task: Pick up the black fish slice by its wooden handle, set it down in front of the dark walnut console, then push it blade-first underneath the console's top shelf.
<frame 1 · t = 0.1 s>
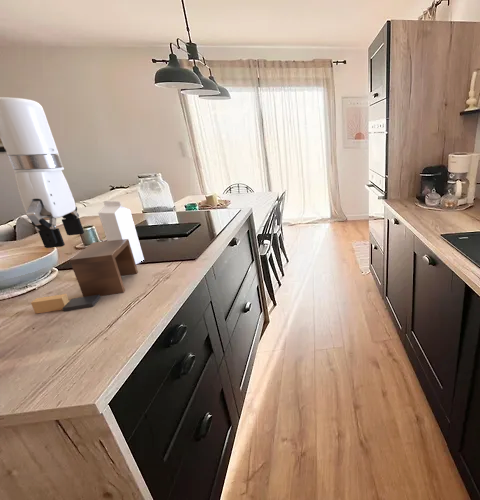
hand: (66, 240, 67), 19 cm above the counter, tool pointing down, fingers open, 9 cm apart
console: (113, 284, 86), on the counter
fish slice: (68, 306, 74), on the counter
milk: (130, 263, 101), on the counter
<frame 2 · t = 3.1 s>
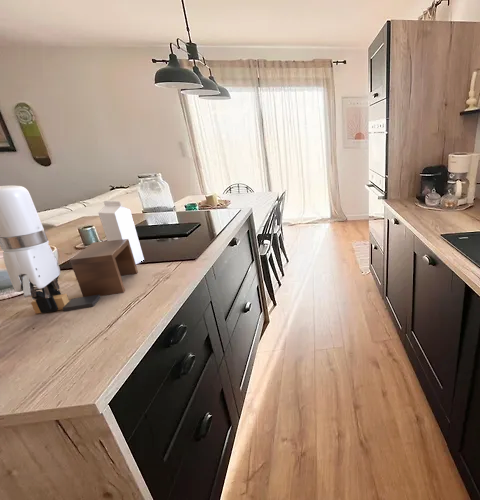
hand: (53, 307, 73), 0 cm above the counter, tool pointing down, fingers closed on fish slice, 2 cm apart
fish slice: (68, 306, 74), on the counter, touching gripper
everything else where it was.
when the fingers open (0 cm above the counter, at t = 8.5 s): fish slice stays where it is, on the counter.
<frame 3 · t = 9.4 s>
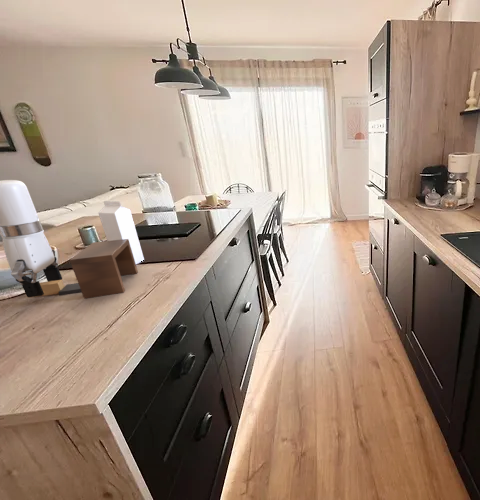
hand: (46, 287, 80), 2 cm above the counter, tool pointing down, fingers open, 9 cm apart
fish slice: (63, 291, 82), on the counter
everything else where it was.
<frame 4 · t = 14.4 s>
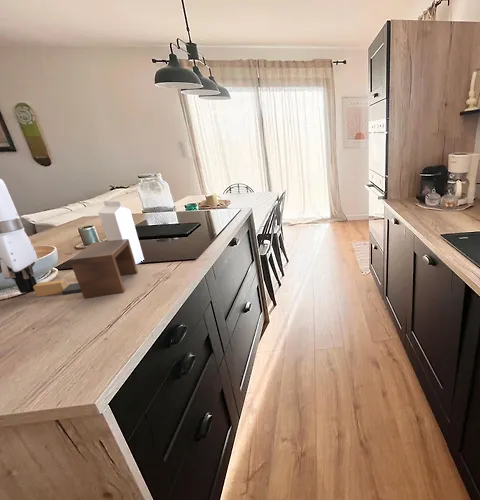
hand: (30, 290, 79), 2 cm above the counter, tool pointing down, fingers closed
fish slice: (66, 290, 82), on the counter, touching gripper
everything else where it was.
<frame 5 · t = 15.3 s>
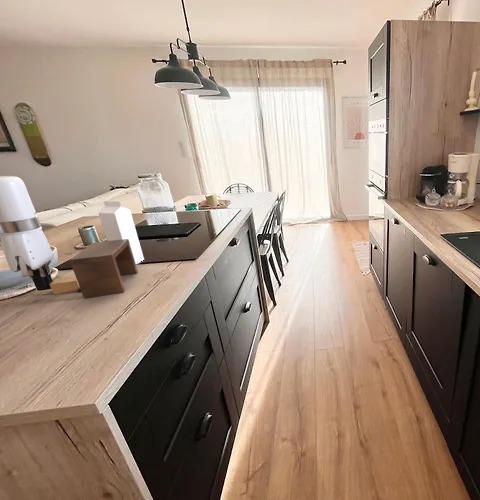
hand: (46, 288, 80), 2 cm above the counter, tool pointing down, fingers closed
fish slice: (82, 288, 83), on the counter, touching gripper
everything else where it was.
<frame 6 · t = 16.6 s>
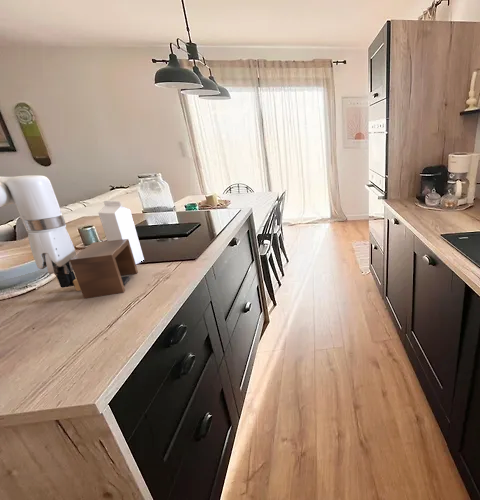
hand: (69, 285, 82), 2 cm above the counter, tool pointing down, fingers closed
fish slice: (103, 285, 85), on the counter, touching gripper
everything else where it was.
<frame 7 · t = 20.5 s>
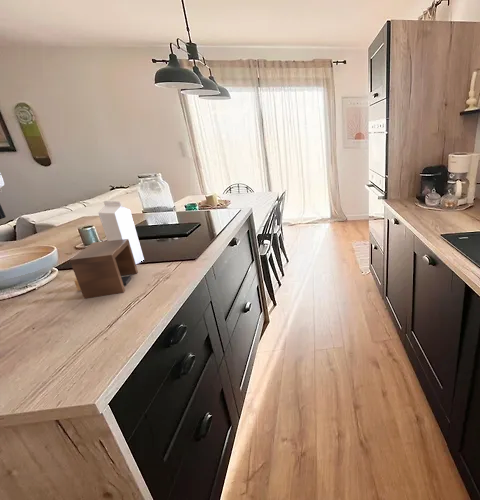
fish slice: (105, 285, 85), on the counter
everything else where it was.
at the end: fish slice inside the target area on the console (2.1 cm from its centre), point 0.0 cm above the console's base; the gripper is holding nothing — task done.
